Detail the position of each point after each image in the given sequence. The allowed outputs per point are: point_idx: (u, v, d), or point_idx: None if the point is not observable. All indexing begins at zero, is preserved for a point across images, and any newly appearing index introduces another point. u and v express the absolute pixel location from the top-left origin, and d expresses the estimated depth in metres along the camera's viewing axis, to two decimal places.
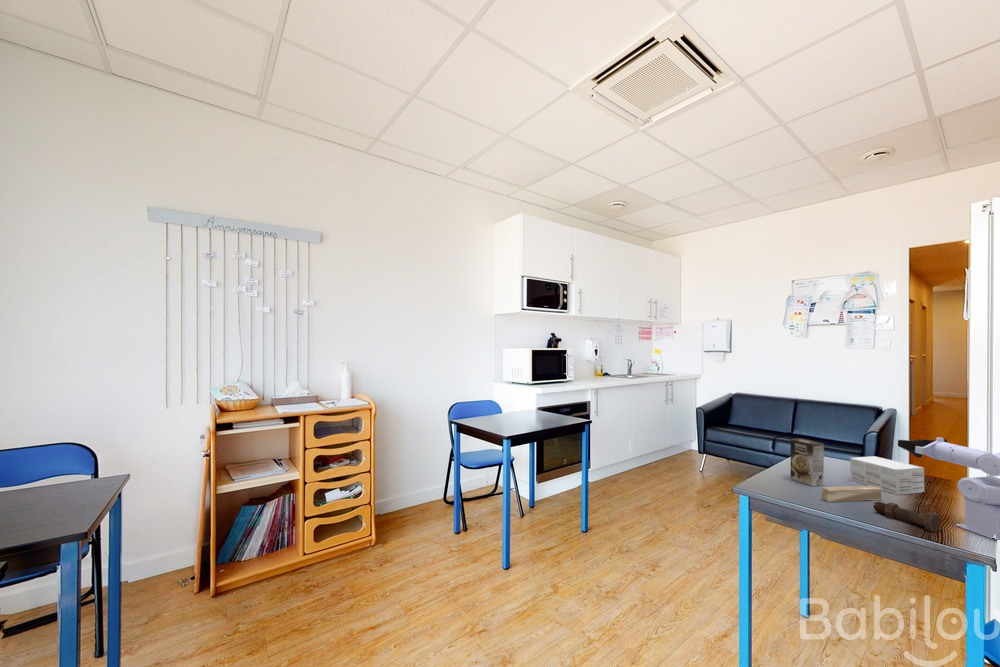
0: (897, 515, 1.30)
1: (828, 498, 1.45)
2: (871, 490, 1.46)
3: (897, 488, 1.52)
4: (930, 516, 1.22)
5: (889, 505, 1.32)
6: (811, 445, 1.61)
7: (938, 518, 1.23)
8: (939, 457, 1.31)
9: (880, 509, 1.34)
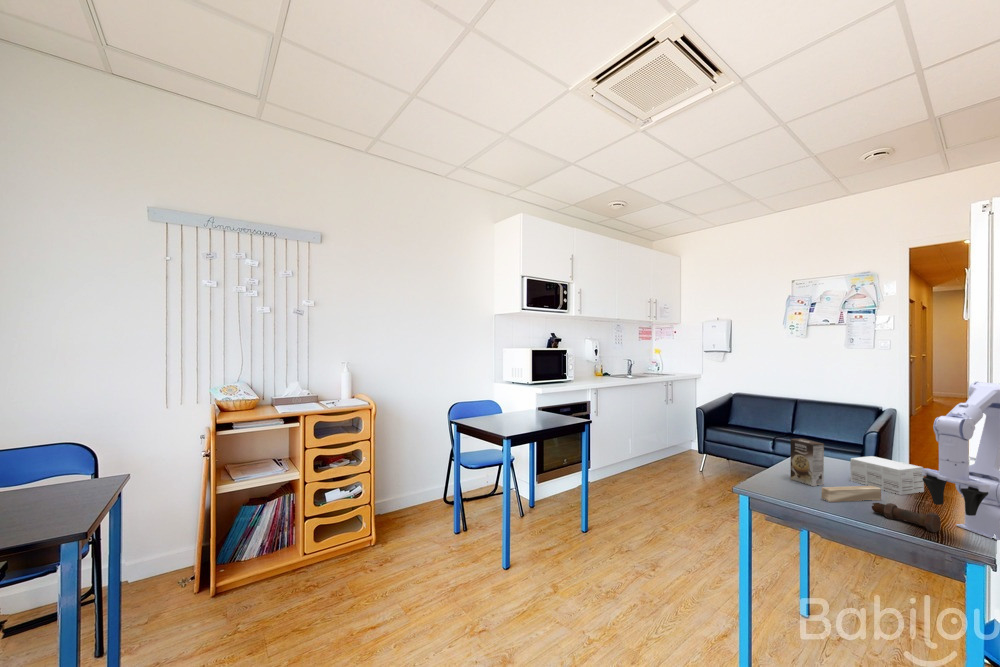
0: (897, 516, 1.30)
1: (828, 498, 1.45)
2: (871, 490, 1.46)
3: (900, 488, 1.52)
4: (931, 517, 1.22)
5: (888, 506, 1.31)
6: (811, 445, 1.61)
7: (938, 518, 1.23)
8: (968, 474, 1.15)
9: (879, 510, 1.34)
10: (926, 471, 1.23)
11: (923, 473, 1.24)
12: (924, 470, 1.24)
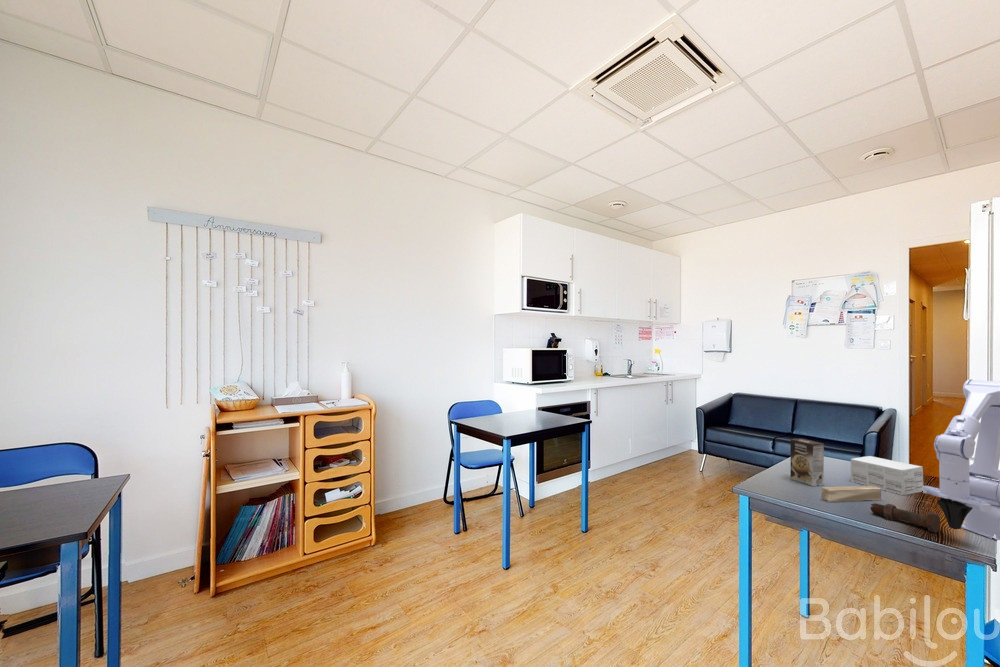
0: (897, 516, 1.29)
1: (828, 498, 1.45)
2: (871, 490, 1.46)
3: (902, 489, 1.52)
4: (933, 517, 1.22)
5: (888, 507, 1.31)
6: (811, 445, 1.61)
7: (938, 518, 1.23)
8: None
9: (878, 511, 1.33)
10: (927, 489, 1.23)
11: (924, 491, 1.24)
12: (924, 488, 1.23)
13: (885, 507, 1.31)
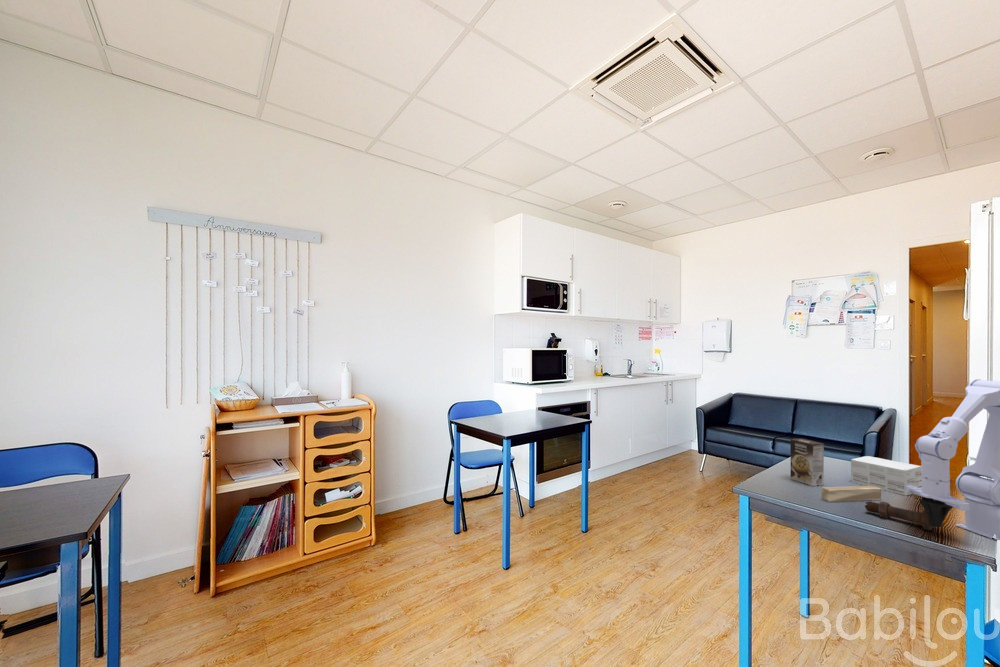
0: (891, 514, 1.30)
1: (828, 498, 1.45)
2: (871, 490, 1.46)
3: (905, 489, 1.51)
4: None
5: (883, 504, 1.32)
6: (811, 445, 1.61)
7: None
8: (949, 492, 1.20)
9: (873, 509, 1.34)
10: (910, 488, 1.27)
11: (907, 490, 1.28)
12: (908, 487, 1.28)
13: (880, 505, 1.32)
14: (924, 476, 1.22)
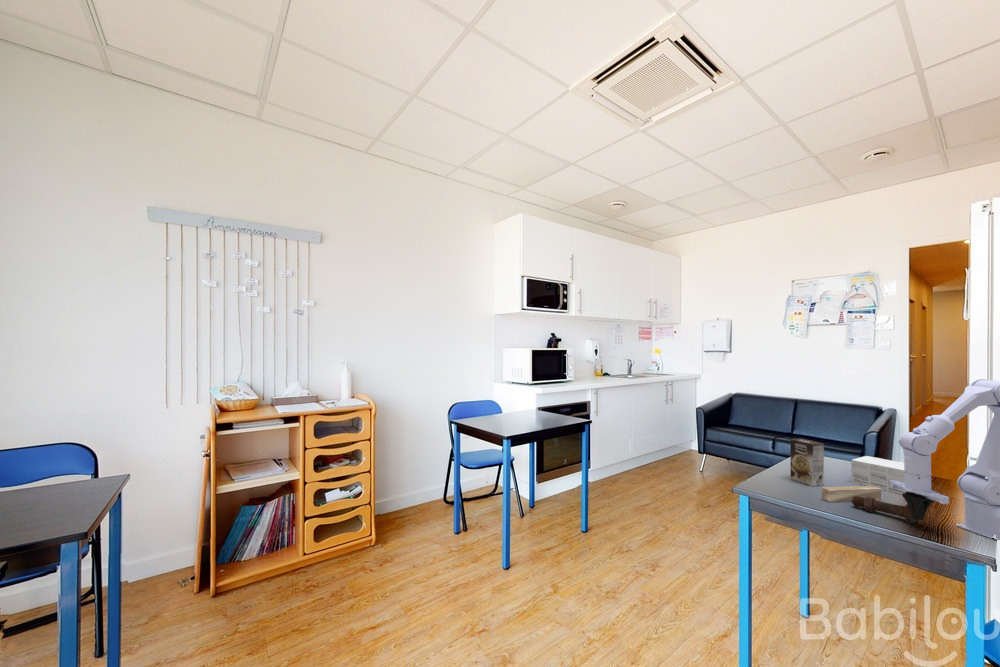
0: (876, 508, 1.35)
1: (828, 498, 1.45)
2: (871, 490, 1.46)
3: None
4: None
5: (868, 499, 1.36)
6: (811, 445, 1.61)
7: None
8: None
9: (859, 503, 1.38)
10: (893, 483, 1.32)
11: (891, 485, 1.33)
12: (891, 482, 1.33)
13: (865, 499, 1.37)
14: (905, 470, 1.28)
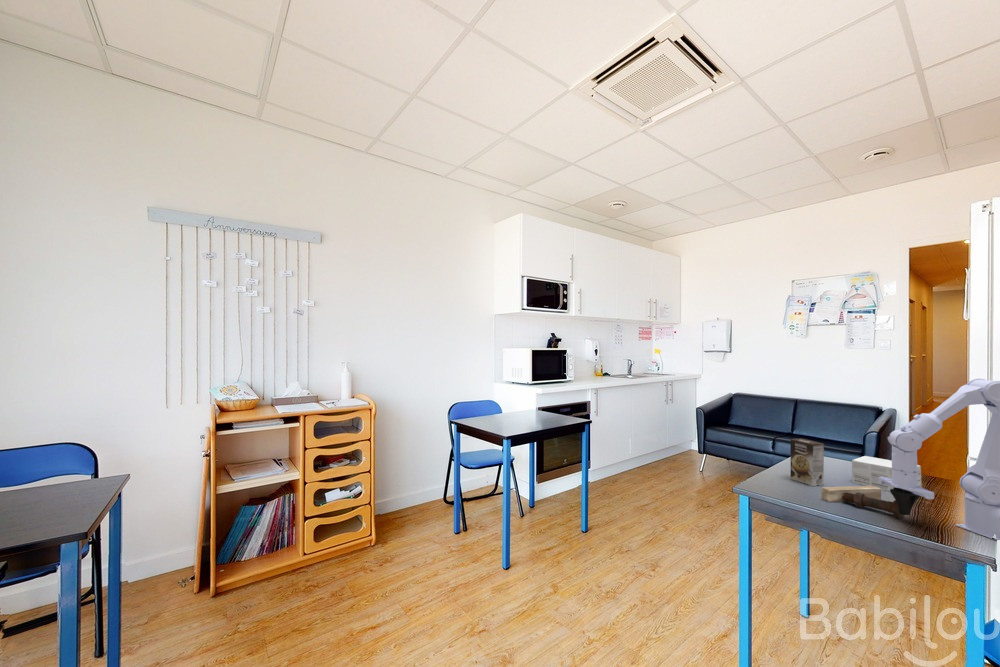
0: (865, 504, 1.38)
1: (828, 498, 1.45)
2: (871, 490, 1.46)
3: None
4: None
5: (858, 495, 1.40)
6: (811, 445, 1.61)
7: None
8: None
9: (849, 499, 1.42)
10: (881, 479, 1.36)
11: (879, 481, 1.37)
12: (880, 478, 1.36)
13: (855, 495, 1.40)
14: (892, 466, 1.32)
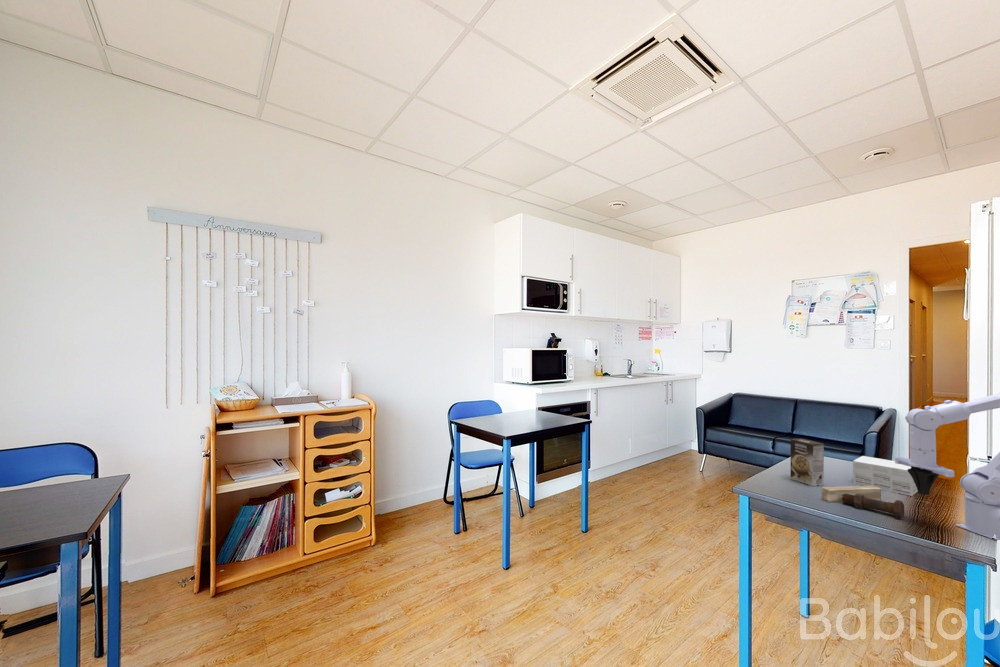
0: (866, 505, 1.38)
1: (828, 498, 1.45)
2: (871, 490, 1.46)
3: (911, 489, 1.51)
4: (899, 504, 1.31)
5: (858, 496, 1.39)
6: (811, 445, 1.61)
7: (903, 505, 1.33)
8: None
9: (849, 500, 1.41)
10: (898, 459, 1.34)
11: (896, 461, 1.35)
12: (896, 459, 1.35)
13: (855, 497, 1.40)
14: None
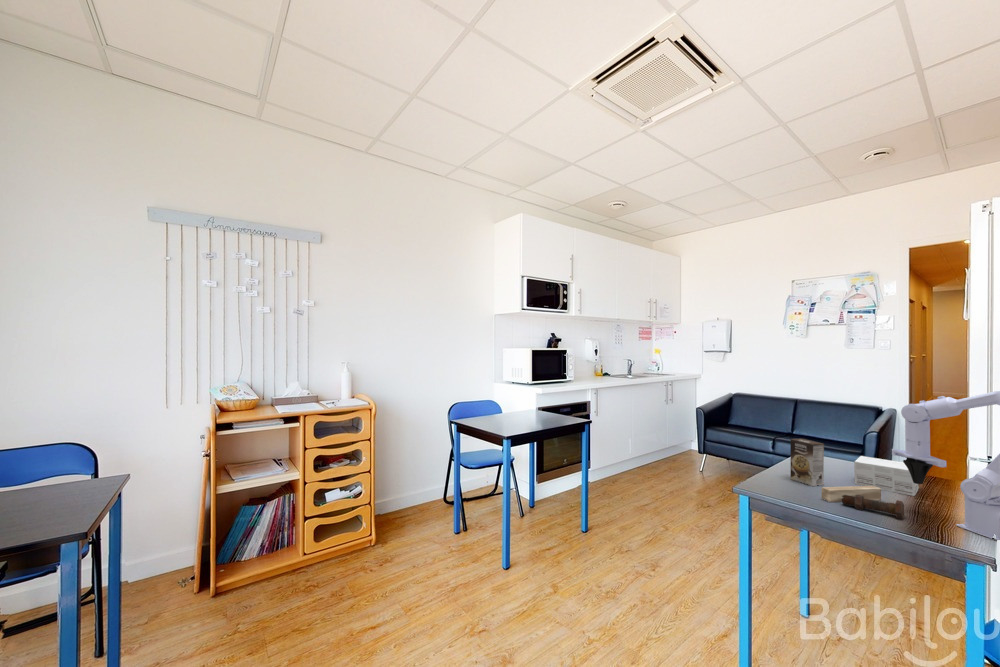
0: (866, 506, 1.37)
1: (828, 498, 1.45)
2: (871, 490, 1.46)
3: (913, 489, 1.51)
4: (901, 505, 1.31)
5: (858, 497, 1.38)
6: (811, 445, 1.61)
7: (903, 505, 1.32)
8: None
9: (849, 502, 1.40)
10: (895, 451, 1.42)
11: (893, 453, 1.43)
12: (893, 450, 1.43)
13: (856, 498, 1.39)
14: None
